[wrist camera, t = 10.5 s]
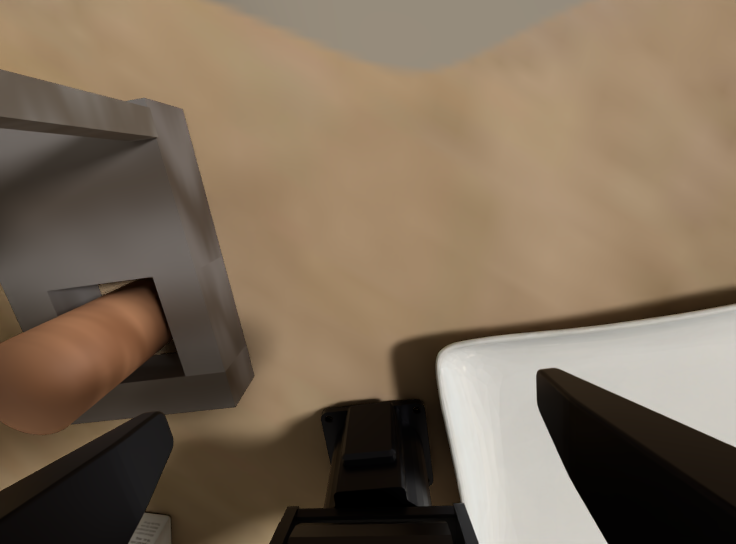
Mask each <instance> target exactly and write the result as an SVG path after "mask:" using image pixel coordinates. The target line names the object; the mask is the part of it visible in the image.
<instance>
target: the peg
mask: <svg viewBox="0 0 736 544" xmlns="http://www.w3.org/2000/svg"><path fill="white" fill-rule="evenodd" d="M172 339H173V337H172V334H171V331H170V328H169V325H168V322H167V319H166V316H165V313H164V310H163V307H162V304H161V301H160V298H159V295H158V292H157V289H156V286H155V283H154V280H153V278H143V279H139V280H136V281H134V282H132V283H129V284H127V285H125V286H123V287H121V288H119V289H116V290H114V291H112V292H110V293H108V294H106V295H103V296H101V297H99V298H97V299H95V300H93V301H90V302H88V303H86V304H84V305H82V306H80V307H77V308H75V309H73V310H71V311H69V312H67V313H64V314H62V315H60V316H58V317H56V318H54V319H51V320H49V321H47V322H45V323H43V324H41V325H38V326H36V327H34V328H32V329H30V330H28V331H25V332H23V333H21V334H19V335H17V336H15V337H12V338H10V339H8V340H6V341H4V342H2V343H0V421H1V422H2V423H4V424H5V425H7V426H9V427H11V428H13V429H15V430H18V431H21V432H24V433H29V434H35V435H47V434H53V433H56V432H59V431H61V430H63V429H65V428H66V427H68V426H69V425H70V424H72V423H73V422H74V421H75V420H76V419H78V418H79V417H80V416H81V415H82V414H84V413H85V412H86V411H87V410H88V409H90V408H91V407H92V406H93V405H94V404H96V403H97V402H98V401H99V400H100V399H102V398H103V397H104V396H105V395H106V394H108V393H109V392H110V391H111V390H112V389H114V388H115V387H116V386H117V385H118V384H120V383H121V382H122V381H123V380H124V379H126V378H127V377H128V376H129V375H130V374H132V373H133V372H134V371H135V370H136V369H138V368H139V367H140V366H141V365H142V364H144V363H145V362H146V361H147V360H148V359H150V358H151V357H152V356H153V355H154V354H156V353H157V352H158V351H159V350H160V349H162V348H163V347H164V346H165V345H166V344H168V343H169V342H170V341H171V340H172Z"/></svg>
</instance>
